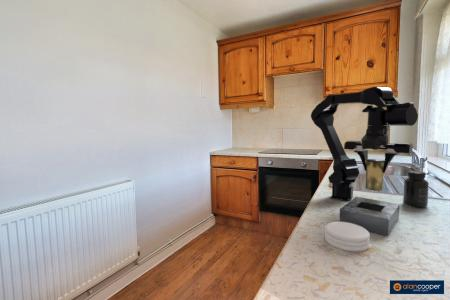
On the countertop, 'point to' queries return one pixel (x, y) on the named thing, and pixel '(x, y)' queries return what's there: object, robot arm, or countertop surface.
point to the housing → (371, 214)
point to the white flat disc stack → (347, 236)
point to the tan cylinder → (374, 174)
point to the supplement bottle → (415, 190)
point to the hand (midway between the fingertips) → (374, 171)
